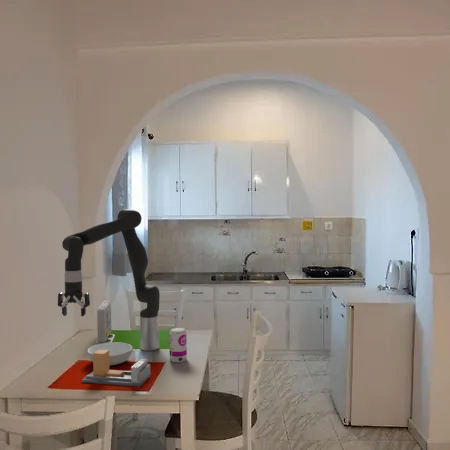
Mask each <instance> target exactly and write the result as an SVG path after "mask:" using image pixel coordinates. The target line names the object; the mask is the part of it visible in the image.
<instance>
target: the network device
mask: <svg viewBox="0 0 450 450" xmlns="http://www.w3.org/2000/svg"><path fill="white" fill-rule="evenodd" d="M96 311H97V313H96V315H97V316H96V317H97V318H96V319H97V322H96V323H97V324H96V325H97V339H96V341H95V345H98V344H102V343H107V341H108V343H111V342H113V341H114V338H115V337H116V334H114V333H111V332H112V300H103V302H102V303H101V304H100V305H99V307H98V308H97V309H96ZM109 335H112V336H111V337H110V336H109Z"/></svg>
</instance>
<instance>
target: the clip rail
mask: <svg viewBox="0 0 450 450" xmlns="http://www.w3.org/2000/svg"><path fill="white" fill-rule="evenodd" d="M148 362H149V360H148V359H147V358H140V359H139V360H138V361H137V362H135V363H134V364H133V365H132V366H131V367H130V370H123V371H124V375H123V376H122V377H109V376H94V374H93V371H91V372H90V373H89V374H86V375H85V376H84V377H83V378H82V380H81V382H82V383H86V384H87V383H89V384H99V385H100V384H102V385H115V386H127V387H128V386H129V387H141V386H142V385H143V384H145V382H146V381H147V380H148V379H149V378H150V377H151V364H150V363H148ZM116 370H117V371H121V370H118V369H116Z"/></svg>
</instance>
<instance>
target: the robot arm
mask: <svg viewBox="0 0 450 450" xmlns="http://www.w3.org/2000/svg"><path fill="white" fill-rule="evenodd" d="M142 219H143V218H142V215H141V212H139V211H138V210H136V209H130V208H122V209H121V210H120V211H119V212H118V213H117V219H115V220H112V221H108V222H104V223H101V224H98V225H94V226H92V227H90V228H88V229H87V228H86V229H85V230H84V231H80V232H77V233H74V234H71V235H68V236H66V237H65V238H64V239H63V241H62V242H61V244H62V245H61V246H62V248H63V249H64V250H65V251H67V252H68V253H67V254H68V255H67V257H66V258H65V260H64V291H65V292H60V293H59V292H58V293H57V306H58V307H61V314H62V316H63V317H66V316H67V315H68V307H67V306H68V304H72V303H74V304H78V305H79V306H80V317H84V316H85V315H86V313H87V311H86V309H87V307H90V305H91V304H90V303H91V302H90V301H91V300H90V293H89V292H85V293H83V272H82V258H83V253H84V246H88V245H93V244H95V243H97V242H99V241H101V240H103V239H105V238H108V237H111V236H113V235H115V234H118V233H122V237H123V240H124V241H123V242H124V245H125V248H126V252H127V257H128V261H129V265H130V268H131V273H132V276H133V283H134V289H135V294H136V295H135V296H136V298H137V300H138V302H140V303H144V304H146V308H144V309H141V310H140V312H139V321H140V324H139V327H140V328H139V329H140V332H139V333H140V334H139V335H140V345H139V346H140V350H142V351H145V352H147V351H148V352H150V351H155V350H157V349H160V330H159V310H160V295H161V294H160V288H158V286H156V285H149V284H147V282H146V278H145V277H146V271H147V268H148V264H149V258H148V254H147V249H146V247H145V246H144V244H143V243H142V241H141V239H140V238H139V236H138V234H137V231H136V228H137V227H138V226H140V224H141V223H142ZM64 298H65V300H64ZM83 299H84V300H83Z"/></svg>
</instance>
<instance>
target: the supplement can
mask: <svg viewBox="0 0 450 450" xmlns="http://www.w3.org/2000/svg"><path fill="white" fill-rule="evenodd" d="M168 336H169V342H168V343H169V361H170V362H171V361H172V362H171V363H174V362H181V363H184V362H186V360H187V358H188V353H187V352H188V351H187V350H188V347H187V346H188V345H187V344H188V343H187V340H188V337H187V330H186V328H184V327H173V328H171V329H170V331H169V335H168ZM183 361H184V362H183Z"/></svg>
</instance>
